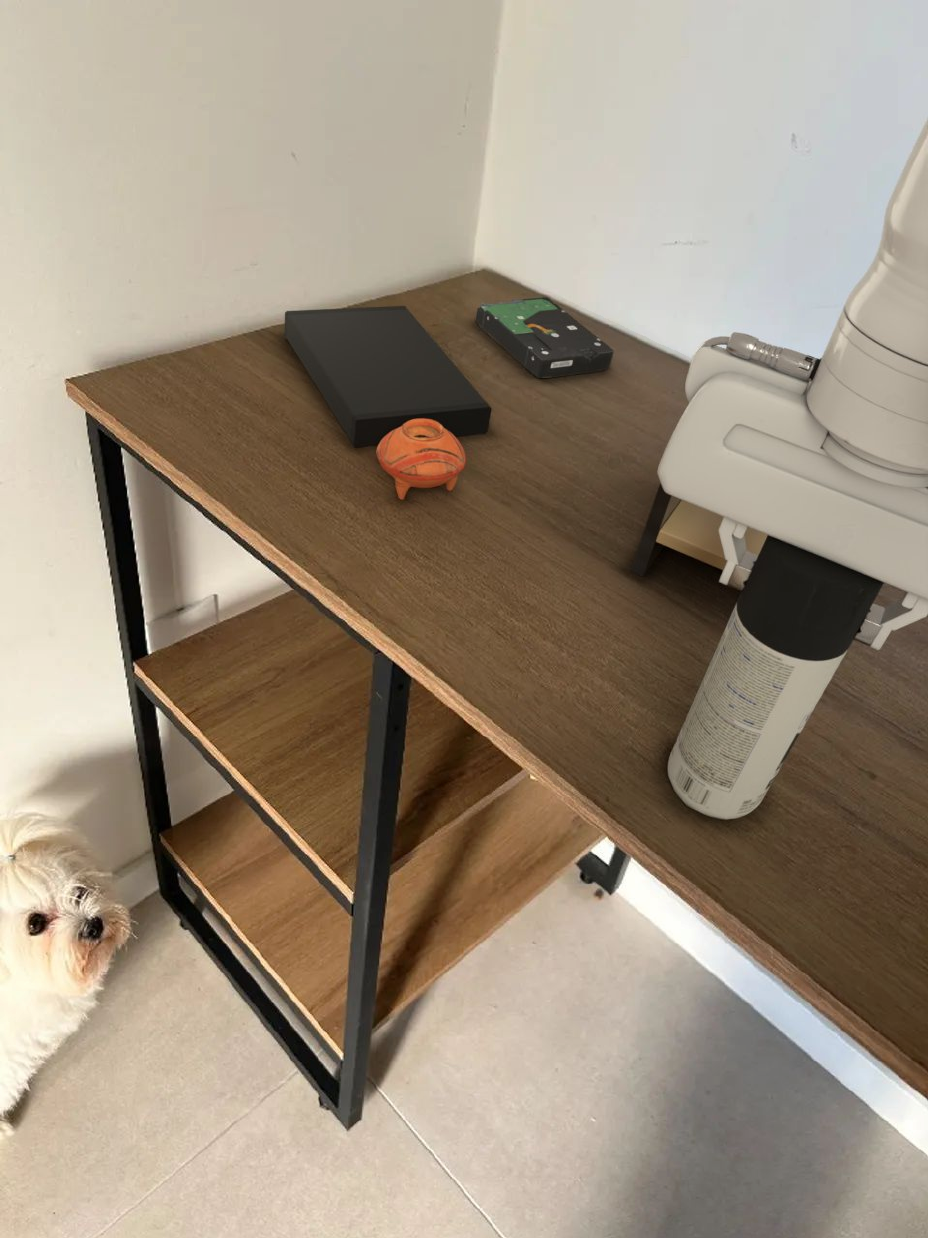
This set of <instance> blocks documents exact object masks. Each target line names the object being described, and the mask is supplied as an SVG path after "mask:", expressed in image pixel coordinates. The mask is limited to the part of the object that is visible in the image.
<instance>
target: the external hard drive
mask: <svg viewBox="0 0 928 1238" xmlns="http://www.w3.org/2000/svg"><path fill="white" fill-rule="evenodd" d="M284 337H285V338H286V340H287V342H288V343H289V345H290V346H291V348H292V349H293V351H294V353H295V355H296V356H297V358H298V359H299V361H300V363H301V364H302V366H303V367H304V368H305V370H306V372H307V374H308V375H309V377H310V379H311V380H312V382H314V385H315V387H316V388H317V390H318V391H319V393H320V394H321V396H322V398H323V399H324V401H325V402H326V404H327V405H328V407H329V408H330V410H331V412H332V414H333V416H334V417H335V418H336V420H337V421H338V423H339V424H340V426H341V427H342V429H343V432H344V433H345V434H346V436H347V437H348V439H349V441H350V442H351V444H352V445H353V447H354V448H365V447H374V446H378V445H379V443H380V442H381V440H382V439H383V438H384V437H385V436H386V435H387V434H388V433H390V432H391V431H393V430H395V429H396V428H399V427H401V426H402V425H403V424H404V423H406V422H408V421H410V420H412V419H419V418H424V419H432V420H435V421H437V422H439V423H440V424H441V425H442V426H443V428H445V429H447V430H448V431H449V432H451V433H452V434H453V435H454V436H455V437H456V438H457V437H466V436H475V435H477V436H478V435H485V434H487V433H488V431H489V427H490V422H491V421H490V420H491V415H492V410H493V409H492V407H491V405H490V404H489V403H488V402H487V401H486V399H485V398H484V397H483V396H482V395H481V394H480V392H479V391H478V390H477V389H476V388H475V386H474V385H473V384H472V383H471V382H470V381H469V380H468V378H467V377H466V376H465V374H463V372H462V371H461V370H460V369H459V368H458V367H457V366H456V364H455V363H454V361H453V360H452V359H451V358H450V357H449V356H448V354H446V353H445V351H444V350H443V349H442V347H440V345H439V344H438V342H437V341H436V340H435V339H433V337H432V335H430V334H429V332H428V331H427V330H426V329H425V328H424V326H423V325H422V324H421V323H420V322H419V321H418V320H417V318H416V316H414V315H413V313H411V311H410V310H409V309H408V308H407V307H406V305H387V306H366V307H346V308H345V307H344V308H324V309H323V308H322V309H302V310H301V309H300V310H286V311H285V312H284Z"/></svg>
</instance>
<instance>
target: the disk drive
mask: <svg viewBox="0 0 928 1238" xmlns="http://www.w3.org/2000/svg"><path fill="white" fill-rule="evenodd" d="M475 322H476V323H477V325H478V326H479V327H480V328H481V330H483V331H484V332H485V333H486V334H488V335H489V336H490V337H491V339H493V340H494V341H495V342H496V343H497V344H498V345H499V346H501V347H502V348H503V349H504V350H505V351H506V352H507V353H508V354H510V356H511V357H513V358H514V359H515V360H516V361H517V362H518V363H519V364H520V365H521V366H522V367H524V369H525V370H527V371H528V372H530V374H532V375H533V376H535V377H536V378H538V379H547V378H548V379H549V378H558V377H564V376H572V375H573V376H574V375H580V374H588V373H595V372H600V371H604V370H609V369H611V364H612V360H613V357H614V353H615V350H614V349H612V348H611V346H610V345H608V344H607V343H606V342H605V341H603V340H601V339H600V338H599V337H598V336H597V335H596V334H594V333H593V332H592V331H590V330H589V329H588V328H587V327H585V326H584V325H583V324H581V323H580V321H578V320H576V318H574V317H573V316H572V315H570V314H569V313H568V312H566V311H565V310H564V309H563V308H562V307H560V305H558V304H557V303H555V302H554V301H553V300H552V299H550V298H549V297H547V296H545V297H544V296H543V297H533V298H523V299H522V298H518V299H517V298H516V299H511V301H505V302H504V301H500V302H496V303H495V302H494V303H486V302H481V304H480V307H477V309H476V314H475Z"/></svg>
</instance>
